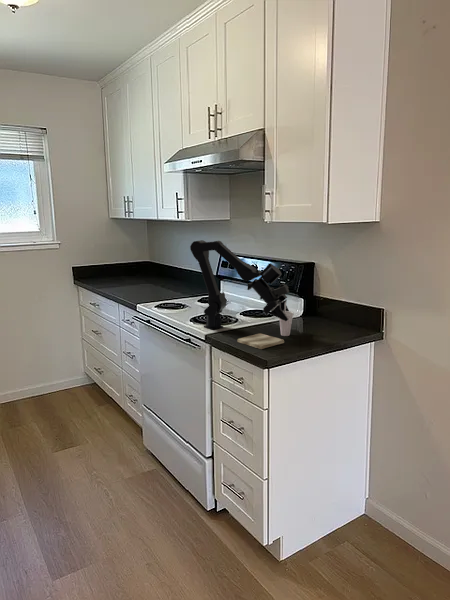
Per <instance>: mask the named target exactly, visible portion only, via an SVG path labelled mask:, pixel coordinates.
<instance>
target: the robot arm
mask: <svg viewBox="0 0 450 600" xmlns="http://www.w3.org/2000/svg"><path fill="white" fill-rule="evenodd" d="M189 249H190V252H191V253H192V255H193V257H194V258H195V260H196V262H198V265H199V267H200V271H201V275H202V277H203V280H204V284H205V286H206V290H207V293H208V296H207V302H208V306H207V307H206V308H205V309H204V310H203V312H204V316H205V317H206V325H203V328H206V329H210V330H213V331H214V330H217V329H223V328H224V325H222V318H221V317H222V315H221V313H222V312H223V310H224V309H225V308H226V306H227V301H228V299H227V298H226V295H225V292H221V291H220V290H219V288H218V287H219V286H218V284H217V280H216V279H215V274H214V272H213V269H212V266H211V261H210V257H209V256H210V252H211V251H215V252H216V253H217V254H218V255H219V256H221V257H222V258H223V259H224V260H225V261H226V262H227V263H229V265H230V266H232V267H233V268H234V270H235V271H236V274H237V275H238V276H239V278H241V279H242V280H243V281H244V282H249V283H247V290H248V291H249V290H251V289H253V290H254V291H255V293H256V294H257V295H258V296H259V299H260V300H262V301H264V303H265V304H266V305H265V306H264V307H263V312H264V314H265V315H268V314H269V315H272V316H274V317H276V318H278V319H279V318H280V319H282V320H285V321H287V320H288V318H287V317H286V315H285V314H284V312H283V311H284V305H285V302H286V303H287V300H288V299H287V298H288V296H287V294H288V293H290V290H289V286H288V284H285V283H281V284H279V287H278V288H275V287H270V285H269V284H274V283H275V281H276V280H277V279H278V278H280V277H281V276H282V272H281V270H280V269H279V268H278V267H276V266H275V265H274V264H273V263H272V262H270V263H268V264H266V265H267V266H266V267H264V269H263V270H260V269H257V268H256V267H255V266H254V265H253V266H252V265H251V264H249V263H248V262H246V261H243V260H242V259H241V258H240V257H238V256H237V255H236V254H235V253H234V252H233V251H232V250H231V249H229V248H228V247H227V246H226V245H225V244H224V243H223V242H222V241H221V240H215V241H205V240H196V241H192V243H191V244H190V246H189ZM257 278H258V279H257ZM250 281H252V282H250ZM286 311H290V310H289V308H288V306H287V305H286Z"/></svg>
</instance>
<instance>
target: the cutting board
mask: <svg viewBox="0 0 450 600" xmlns="http://www.w3.org/2000/svg"><path fill="white" fill-rule="evenodd" d="M236 342H237V343H240V344H242V345H247V346H249V347H253V348H256V349H259V350H263V349H267V348H271V347H274V346H277V345H281V344H284V343H285V340H284V339H282V338H279V337H275V336H272V335H267V334H264V333H261V332H260V333H259V332H258V333H256V334H253V335H252V334H251V335H248V336H244V337H239V338H237V341H236Z"/></svg>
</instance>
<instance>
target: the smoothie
mask: <svg viewBox="0 0 450 600" xmlns="http://www.w3.org/2000/svg"><path fill="white" fill-rule="evenodd" d="M286 306H287V301H286V302H285V305H284V311H283V312H284V314H285V315H286V317H287V318H288V320H287V321H285V320H282V319H280V318H278V319H279V328H280V336H283V337H289V336H290V335H291V328H292V325H293V323H292V322H293V316H294V312H293V311H290V310H289V311H286Z"/></svg>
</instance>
